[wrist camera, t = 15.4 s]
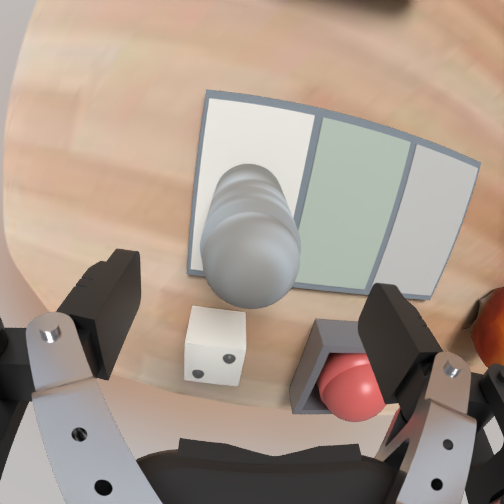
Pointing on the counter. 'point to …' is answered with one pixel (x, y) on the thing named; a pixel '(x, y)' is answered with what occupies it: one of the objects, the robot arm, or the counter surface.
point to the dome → (350, 387)
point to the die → (215, 346)
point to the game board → (340, 191)
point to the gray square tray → (321, 362)
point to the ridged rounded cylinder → (250, 239)
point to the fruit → (490, 328)
